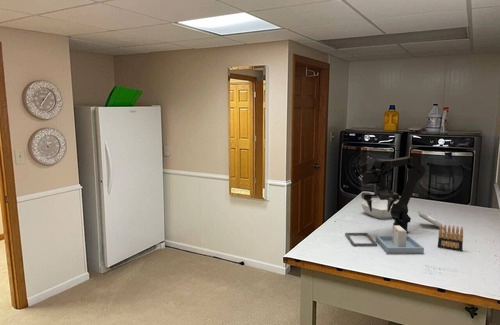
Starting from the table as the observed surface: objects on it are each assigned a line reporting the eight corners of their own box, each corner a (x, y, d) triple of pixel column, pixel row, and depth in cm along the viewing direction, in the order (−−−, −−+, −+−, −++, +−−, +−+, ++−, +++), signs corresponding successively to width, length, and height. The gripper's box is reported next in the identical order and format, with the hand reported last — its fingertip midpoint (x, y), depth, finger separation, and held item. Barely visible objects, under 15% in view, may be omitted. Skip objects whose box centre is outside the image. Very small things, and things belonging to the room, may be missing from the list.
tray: (409, 241, 192) (409, 235, 192) (423, 254, 175) (423, 247, 175) (375, 241, 192) (376, 235, 192) (387, 254, 176) (387, 247, 175)
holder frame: (367, 234, 202) (367, 232, 202) (377, 246, 186) (377, 244, 185) (345, 234, 203) (345, 232, 202) (353, 246, 186) (353, 244, 186)
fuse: (398, 242, 188) (399, 225, 187) (405, 249, 179) (406, 231, 178) (392, 242, 188) (392, 225, 187) (398, 249, 179) (399, 231, 178)
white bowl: (380, 221, 226) (381, 209, 225) (358, 213, 244) (358, 202, 243) (405, 217, 234) (406, 205, 233) (382, 209, 253) (382, 198, 251)
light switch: (445, 227, 209) (421, 213, 212) (439, 235, 210) (415, 221, 214) (442, 222, 217) (419, 209, 220) (436, 231, 218) (413, 217, 222)
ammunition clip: (462, 250, 179) (464, 226, 178) (462, 251, 178) (464, 227, 176) (437, 246, 185) (439, 222, 183) (437, 247, 183) (438, 223, 182)
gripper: (367, 186, 190) (366, 216, 192) (404, 186, 190) (402, 216, 192) (361, 182, 201) (360, 210, 203) (396, 182, 201) (395, 210, 203)
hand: (379, 211), depth 200 cm, fingers open, 9 cm apart
